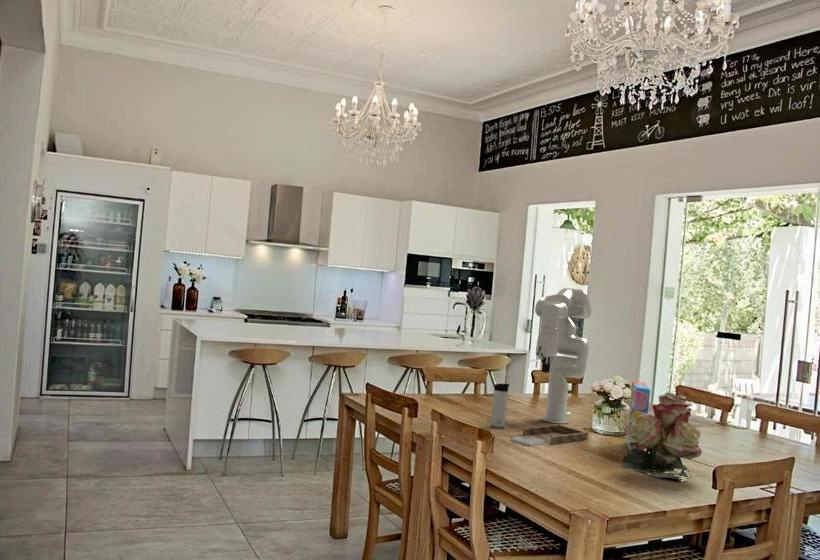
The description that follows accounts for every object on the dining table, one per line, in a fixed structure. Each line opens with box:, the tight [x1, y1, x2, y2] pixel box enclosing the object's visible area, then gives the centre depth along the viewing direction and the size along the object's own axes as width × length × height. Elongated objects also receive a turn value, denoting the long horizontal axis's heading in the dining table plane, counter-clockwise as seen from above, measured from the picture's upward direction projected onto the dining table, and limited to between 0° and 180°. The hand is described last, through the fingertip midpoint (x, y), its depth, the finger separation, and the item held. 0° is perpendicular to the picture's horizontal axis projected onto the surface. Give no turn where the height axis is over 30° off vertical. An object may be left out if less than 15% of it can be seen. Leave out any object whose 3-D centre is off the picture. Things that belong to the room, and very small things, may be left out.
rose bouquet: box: [621, 392, 703, 483], centre depth 281 cm, size 26×29×30 cm
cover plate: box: [510, 435, 548, 448], centre depth 308 cm, size 12×10×2 cm
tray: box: [522, 424, 589, 445], centre depth 321 cm, size 24×16×4 cm, turn 131°
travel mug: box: [490, 383, 510, 429], centre depth 333 cm, size 6×7×20 cm
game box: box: [625, 381, 651, 452], centre depth 316 cm, size 21×6×27 cm, turn 168°
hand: (545, 372), depth 329 cm, fingers closed
